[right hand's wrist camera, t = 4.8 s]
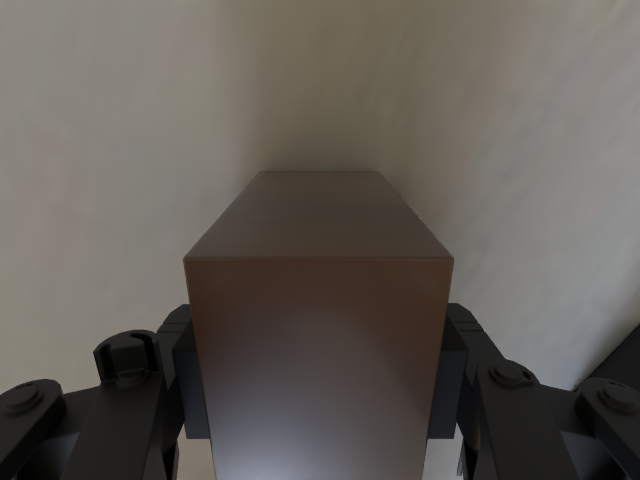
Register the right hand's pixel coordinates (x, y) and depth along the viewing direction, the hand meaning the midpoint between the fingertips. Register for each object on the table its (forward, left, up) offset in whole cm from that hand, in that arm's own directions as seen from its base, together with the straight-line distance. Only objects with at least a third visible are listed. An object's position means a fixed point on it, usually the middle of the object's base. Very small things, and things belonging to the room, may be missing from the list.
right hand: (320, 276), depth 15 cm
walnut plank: (+8, +7, 0) cm, 11 cm away
